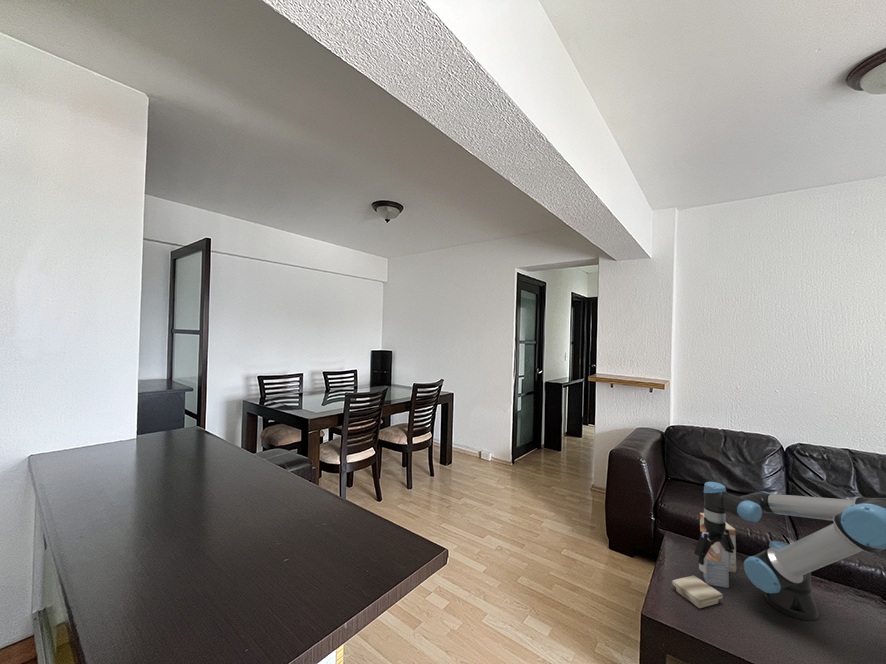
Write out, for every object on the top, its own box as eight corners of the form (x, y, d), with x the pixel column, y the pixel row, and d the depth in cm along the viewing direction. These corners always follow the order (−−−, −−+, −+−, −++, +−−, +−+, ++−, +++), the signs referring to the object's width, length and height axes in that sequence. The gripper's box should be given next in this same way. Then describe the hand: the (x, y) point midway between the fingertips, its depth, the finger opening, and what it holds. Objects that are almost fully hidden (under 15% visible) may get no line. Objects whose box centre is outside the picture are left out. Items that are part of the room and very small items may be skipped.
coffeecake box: (699, 552, 176) (699, 512, 176) (715, 553, 175) (714, 513, 176) (720, 571, 161) (719, 528, 162) (737, 572, 160) (736, 528, 161)
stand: (722, 604, 141) (722, 594, 141) (699, 610, 137) (699, 600, 138) (693, 584, 152) (693, 575, 152) (672, 590, 149) (672, 580, 149)
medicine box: (724, 582, 154) (724, 561, 154) (729, 588, 150) (728, 568, 150) (703, 578, 157) (702, 558, 157) (707, 584, 152) (706, 564, 153)
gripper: (726, 511, 161) (726, 558, 161) (684, 519, 154) (684, 568, 154) (744, 519, 154) (744, 569, 154) (701, 528, 147) (701, 579, 147)
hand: (714, 568), depth 154 cm, fingers open, 13 cm apart
